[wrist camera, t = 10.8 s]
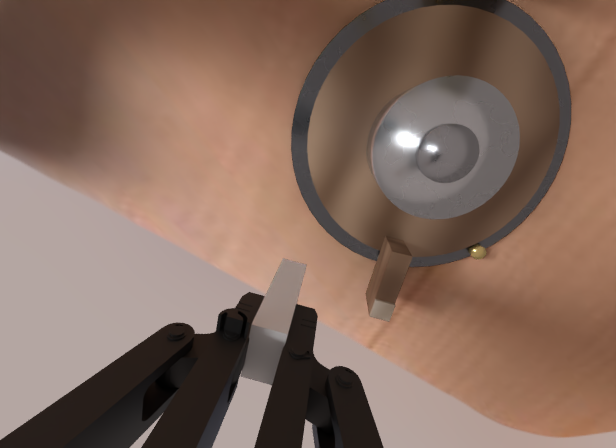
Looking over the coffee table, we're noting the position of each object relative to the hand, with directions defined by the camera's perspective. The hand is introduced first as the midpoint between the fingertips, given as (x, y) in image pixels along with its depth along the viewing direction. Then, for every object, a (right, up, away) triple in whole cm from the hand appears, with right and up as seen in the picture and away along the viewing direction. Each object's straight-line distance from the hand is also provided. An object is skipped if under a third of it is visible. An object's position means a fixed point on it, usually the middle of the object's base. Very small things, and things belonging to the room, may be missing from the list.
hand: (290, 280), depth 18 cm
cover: (+10, +10, +5) cm, 15 cm away
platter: (+10, +8, +6) cm, 14 cm away
